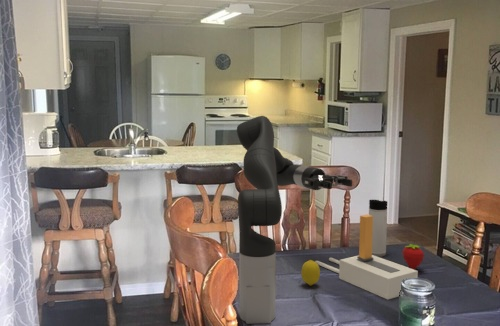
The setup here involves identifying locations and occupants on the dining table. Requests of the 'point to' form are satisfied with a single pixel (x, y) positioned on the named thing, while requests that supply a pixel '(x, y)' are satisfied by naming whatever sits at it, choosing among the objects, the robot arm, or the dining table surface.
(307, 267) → the lemon
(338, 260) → the cords
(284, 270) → the dining table surface
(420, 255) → the strawberry
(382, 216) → the travel mug
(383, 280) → the switch box
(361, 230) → the handle
